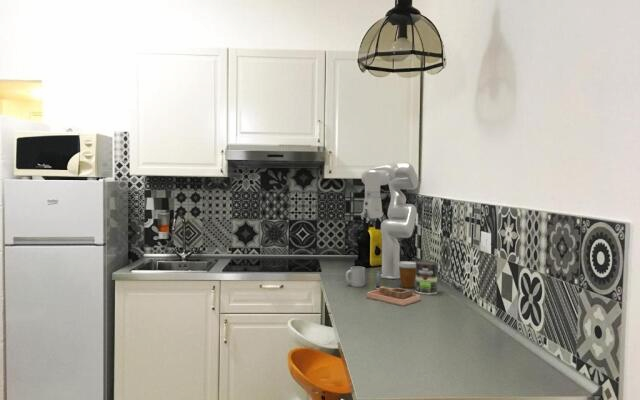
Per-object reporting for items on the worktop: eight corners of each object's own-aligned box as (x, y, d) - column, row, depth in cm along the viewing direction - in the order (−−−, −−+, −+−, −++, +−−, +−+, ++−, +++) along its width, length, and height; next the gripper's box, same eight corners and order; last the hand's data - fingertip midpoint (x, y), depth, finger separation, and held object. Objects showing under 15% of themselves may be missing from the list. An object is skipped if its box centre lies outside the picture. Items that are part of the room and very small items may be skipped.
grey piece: (377, 287, 230) (377, 270, 230) (384, 288, 227) (384, 271, 227) (372, 288, 227) (372, 271, 227) (379, 290, 224) (379, 272, 224)
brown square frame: (412, 299, 205) (412, 290, 205) (402, 302, 199) (402, 293, 199) (385, 294, 214) (385, 285, 214) (375, 297, 209) (375, 288, 208)
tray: (384, 293, 218) (384, 287, 218) (420, 300, 205) (420, 294, 205) (366, 298, 209) (366, 292, 208) (403, 306, 195) (403, 300, 195)
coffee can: (436, 295, 215) (436, 265, 214) (413, 293, 218) (414, 263, 218) (438, 290, 224) (439, 261, 224) (416, 288, 228) (417, 260, 227)
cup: (366, 286, 232) (366, 268, 232) (347, 287, 230) (347, 269, 230) (362, 283, 239) (362, 266, 239) (343, 284, 237) (343, 266, 237)
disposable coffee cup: (420, 286, 234) (421, 262, 233) (410, 289, 226) (411, 264, 226) (404, 283, 240) (404, 260, 239) (394, 286, 233) (394, 262, 232)
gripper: (367, 195, 221) (367, 231, 221) (388, 195, 233) (388, 229, 234) (355, 195, 226) (355, 230, 227) (376, 195, 239) (376, 228, 239)
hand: (372, 230), depth 230 cm, fingers open, 9 cm apart
